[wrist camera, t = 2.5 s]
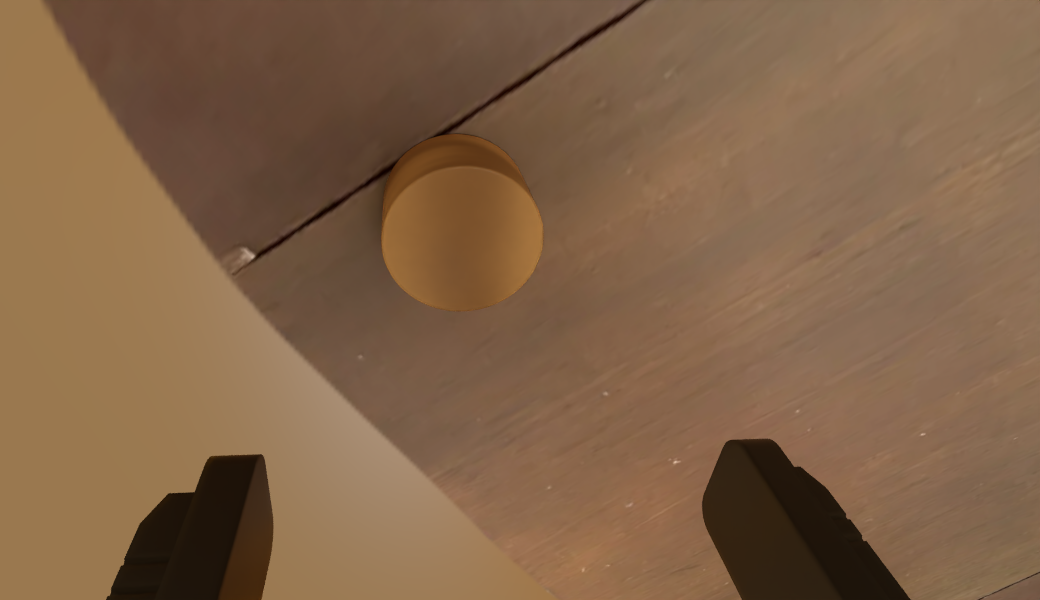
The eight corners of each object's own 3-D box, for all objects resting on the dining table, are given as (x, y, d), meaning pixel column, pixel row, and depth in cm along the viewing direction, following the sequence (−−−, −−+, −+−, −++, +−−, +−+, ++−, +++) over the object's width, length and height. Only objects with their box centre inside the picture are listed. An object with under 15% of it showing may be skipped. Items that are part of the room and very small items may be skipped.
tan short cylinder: (383, 265, 21) (381, 311, 18) (382, 128, 18) (380, 160, 16) (517, 267, 22) (533, 312, 19) (534, 138, 19) (555, 170, 17)
